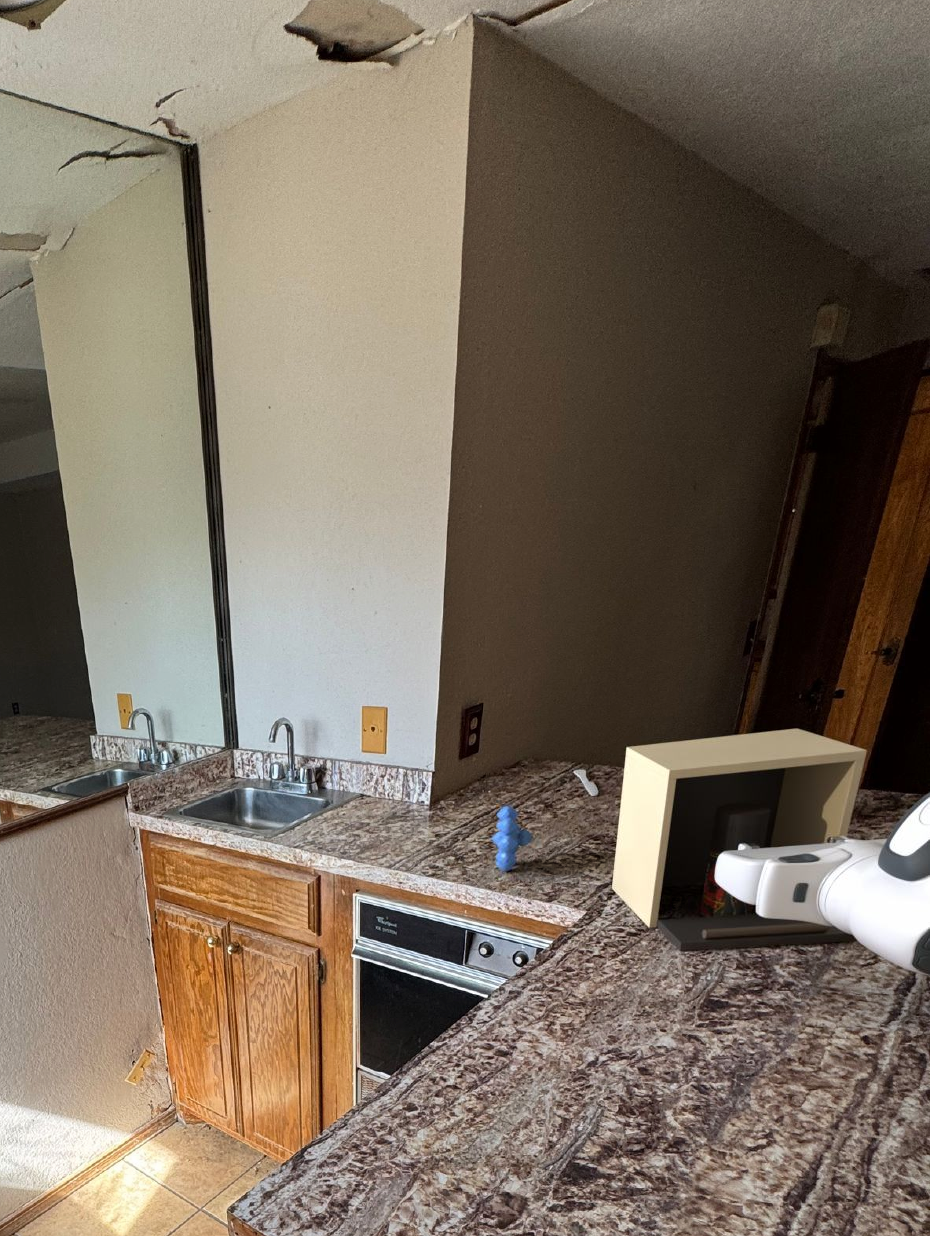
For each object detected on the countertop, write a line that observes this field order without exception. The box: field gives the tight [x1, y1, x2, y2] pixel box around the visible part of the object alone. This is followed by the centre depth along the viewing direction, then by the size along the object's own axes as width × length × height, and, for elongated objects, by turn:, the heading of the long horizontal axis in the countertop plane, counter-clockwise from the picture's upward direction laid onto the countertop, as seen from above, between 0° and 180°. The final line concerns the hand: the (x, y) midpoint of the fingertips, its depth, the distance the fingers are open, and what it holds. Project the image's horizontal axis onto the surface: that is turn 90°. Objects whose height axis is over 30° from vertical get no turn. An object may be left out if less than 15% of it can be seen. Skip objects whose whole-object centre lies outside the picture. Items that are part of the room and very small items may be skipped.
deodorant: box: [699, 803, 770, 917], centre depth 107 cm, size 6×6×15 cm
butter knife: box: [573, 769, 599, 797], centre depth 178 cm, size 1×24×3 cm
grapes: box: [491, 805, 535, 872], centre depth 134 cm, size 12×7×12 cm, turn 161°
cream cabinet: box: [611, 728, 868, 952], centre depth 106 cm, size 22×24×22 cm
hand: (788, 845), depth 94 cm, fingers open, 8 cm apart
